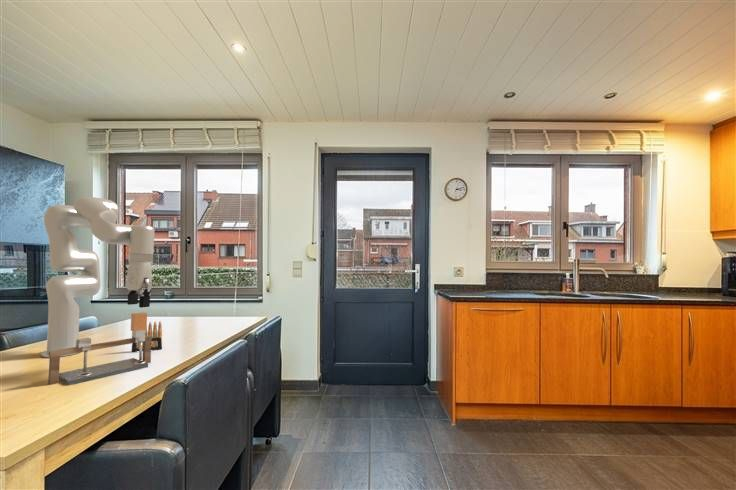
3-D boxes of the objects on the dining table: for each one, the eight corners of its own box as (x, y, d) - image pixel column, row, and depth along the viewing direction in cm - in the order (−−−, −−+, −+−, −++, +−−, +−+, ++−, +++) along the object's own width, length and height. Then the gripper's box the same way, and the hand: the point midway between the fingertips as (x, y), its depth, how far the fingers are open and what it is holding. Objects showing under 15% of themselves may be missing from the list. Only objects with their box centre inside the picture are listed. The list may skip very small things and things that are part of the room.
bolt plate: (56, 377, 110) (56, 373, 110) (135, 360, 129) (135, 357, 129) (68, 385, 103) (68, 380, 104) (150, 366, 122) (150, 362, 122)
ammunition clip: (131, 352, 141) (132, 323, 141) (132, 351, 142) (133, 322, 143) (161, 349, 145) (162, 321, 146) (162, 348, 147) (162, 320, 148)
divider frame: (46, 383, 105) (48, 343, 106) (148, 361, 128) (149, 328, 129) (51, 386, 103) (53, 345, 103) (153, 363, 126) (155, 330, 126)
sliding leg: (129, 359, 124) (131, 313, 124) (141, 357, 127) (143, 312, 128) (135, 361, 121) (136, 314, 122) (147, 359, 124) (149, 313, 125)
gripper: (119, 258, 128) (116, 304, 127) (140, 259, 118) (137, 309, 117) (141, 258, 134) (139, 302, 133) (163, 259, 124) (160, 307, 123)
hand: (138, 305), depth 125 cm, fingers open, 9 cm apart
